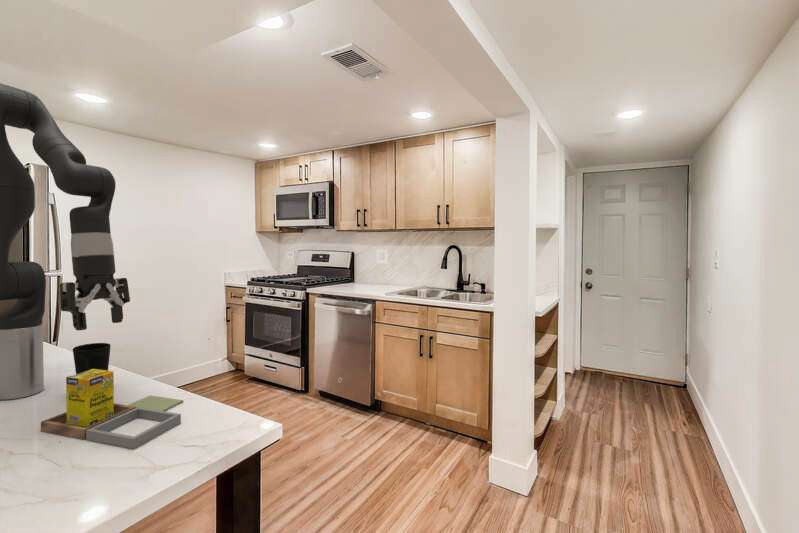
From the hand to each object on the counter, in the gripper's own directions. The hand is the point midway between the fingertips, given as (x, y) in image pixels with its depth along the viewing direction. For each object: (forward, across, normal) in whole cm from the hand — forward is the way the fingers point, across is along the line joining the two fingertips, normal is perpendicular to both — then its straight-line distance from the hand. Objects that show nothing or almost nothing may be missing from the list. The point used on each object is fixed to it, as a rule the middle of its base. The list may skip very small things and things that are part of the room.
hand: (100, 326), depth 89 cm
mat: (+21, -7, +5) cm, 23 cm away
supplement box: (+21, +4, 0) cm, 21 cm away
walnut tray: (+20, +4, 0) cm, 21 cm away
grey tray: (+22, +4, +12) cm, 25 cm away
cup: (+19, -10, -16) cm, 26 cm away
